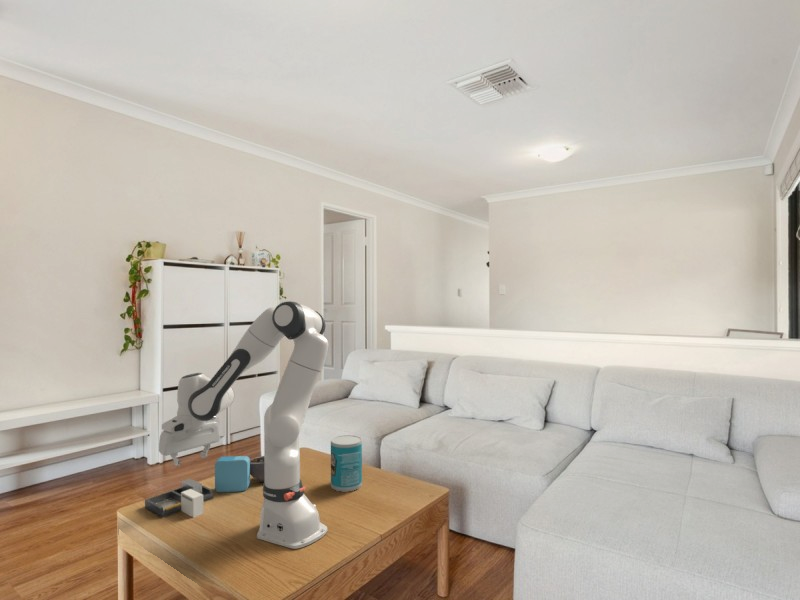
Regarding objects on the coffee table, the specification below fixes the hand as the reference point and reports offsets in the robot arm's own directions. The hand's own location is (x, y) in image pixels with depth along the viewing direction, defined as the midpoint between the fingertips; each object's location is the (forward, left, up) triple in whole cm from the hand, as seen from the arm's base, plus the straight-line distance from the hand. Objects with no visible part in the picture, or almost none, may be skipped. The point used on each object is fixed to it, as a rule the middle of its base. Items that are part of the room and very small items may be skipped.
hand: (190, 461), depth 156 cm
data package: (+5, -19, -18) cm, 27 cm away
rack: (+10, -1, -17) cm, 20 cm away
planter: (+1, -34, -18) cm, 38 cm away
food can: (-28, -47, -18) cm, 58 cm away
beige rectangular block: (0, 0, -18) cm, 18 cm away
